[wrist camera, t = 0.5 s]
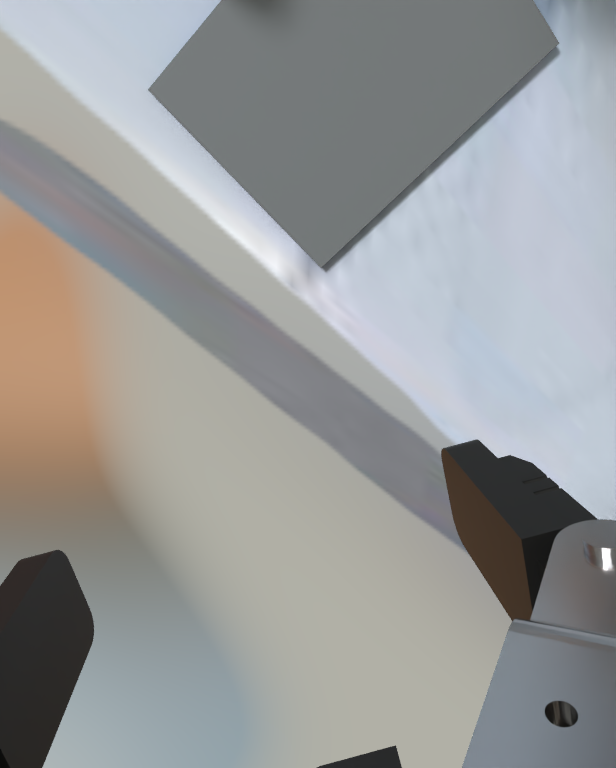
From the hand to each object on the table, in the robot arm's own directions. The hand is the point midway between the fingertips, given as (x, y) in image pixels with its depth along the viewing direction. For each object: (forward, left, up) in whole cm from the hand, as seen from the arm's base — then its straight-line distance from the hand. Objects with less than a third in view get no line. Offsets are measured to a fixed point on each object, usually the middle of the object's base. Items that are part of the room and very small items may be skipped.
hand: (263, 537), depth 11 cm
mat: (-3, +10, -27) cm, 29 cm away
